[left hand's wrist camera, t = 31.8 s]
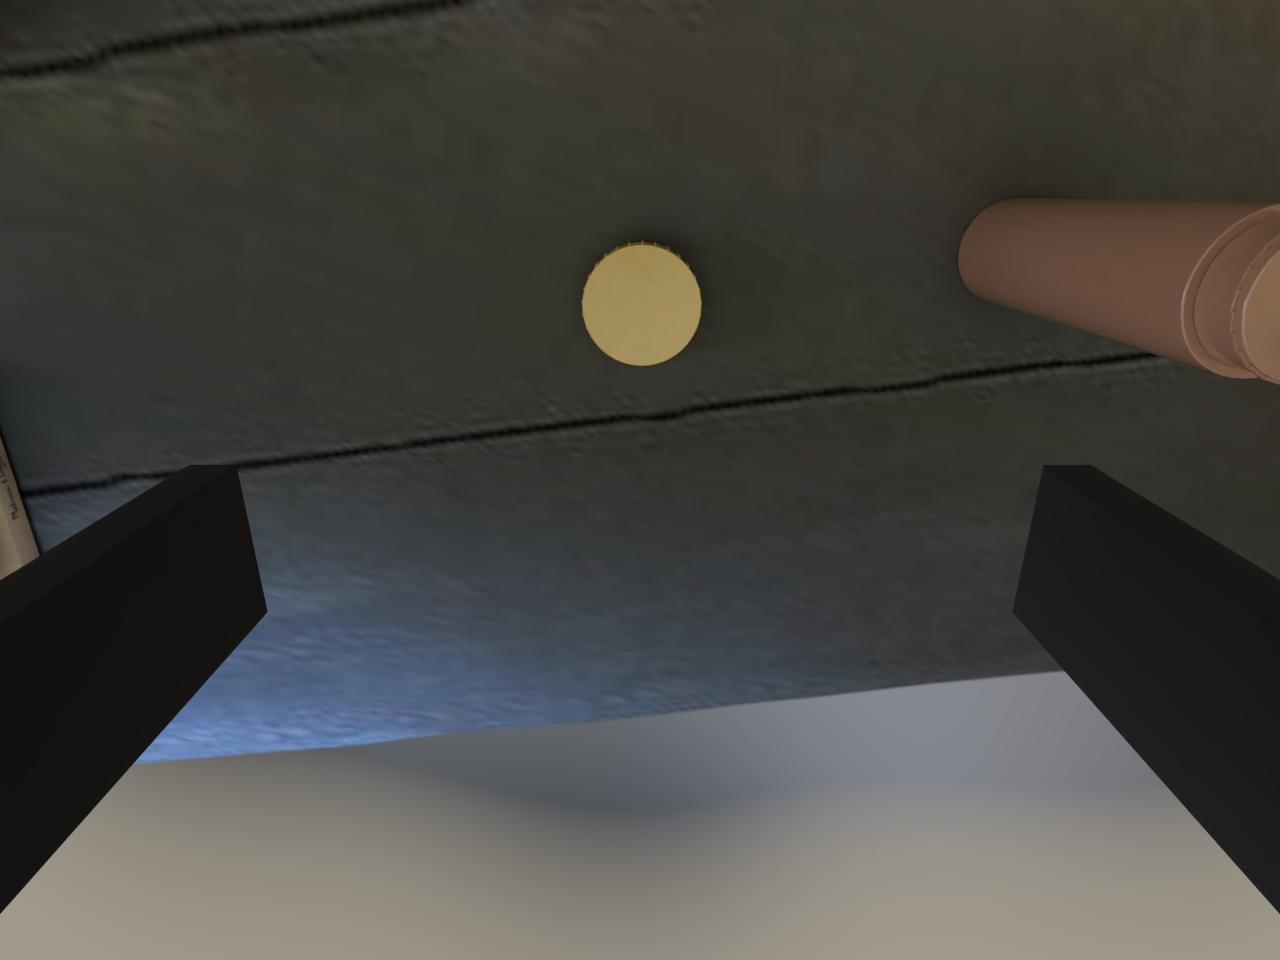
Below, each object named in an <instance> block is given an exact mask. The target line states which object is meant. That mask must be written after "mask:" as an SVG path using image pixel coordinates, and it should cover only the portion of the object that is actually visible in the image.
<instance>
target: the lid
mask: <svg viewBox="0 0 1280 960" xmlns="http://www.w3.org/2000/svg"><path fill="white" fill-rule="evenodd" d="M595 266H596V267H595V268H594V270H593V271H592V273H591V272H590V274H589V275H588V278H589V279H588V281H587V283H586V285H585V286H584V288H583V290H584V294H583V299H582V303H583V304H582V307H583V314H582V315H583V316H584V321H585V324H586V328H587V330H588V332H589V334H590V336H591V337H592V339H593V340H594V342H595V343H596V344H597V345H598V347H599V348H600V349H601V350H603V351H604V352H605V353H606V354H607V355H609V356H610V357H612V358H614V359H616V360H618V361H620V362H623V363H626V364H630V365H637V366H647V365H654V364H658V363H661V362H664V361H666V360H668V359H670V358H672V357H673V356H675V355H676V354H678V353H679V352H680V351H681V350H682V349H683V348H684V347H685V346H686V345H687V344H688V343H689V341H690V340H691V339H692V337H693V335H694V333H695V332H696V329H697V327H698V324H699V320H700V317H701V304H702V301H701V295H700V291H701V289H700V287H699V286H698V284H697V281H696V276H695V274H694V273H692V272H691V270H690V269H689V267H690V266H689V265H688V263H687V262H686V263H685V262H684V261H683V260H682V259H681V258H680V255H679V254H678V253H677V254H676V253H674V252H673V251H671V250H670V249H669V248H668V247H667V246H666V247H664V246H661V245H658V244H656V242H654V243H649V242H643V240H641V242H635V243H631V242H628V244H626V245H623V246H620V247H619V246H616V249H614V250H612V251H611V252H609V253H606V254H605V255H604V257H603V258H602V259H601V260H600V262H598V261H597V263H596V264H595Z"/></svg>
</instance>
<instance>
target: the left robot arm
mask: <svg viewBox="0 0 1280 960" xmlns="http://www.w3.org/2000/svg"><path fill="white" fill-rule="evenodd" d="M266 613H267V607H266V603H265V598H264V593H263V589H262V584H261V579H260V574H259V570H258V565H257V560H256V555H255V551H254V546H253V541H252V537H251V532H250V527H249V522H248V518H247V513H246V508H245V504H244V499H243V494H242V489H241V485H240V480H239V475H238V471H237V466H236V465H189V466H187V467H185V468H184V469H182V470H180V471H179V472H177V473H175V474H174V475H172V476H171V477H169V478H167V479H166V480H164V481H162V482H161V483H159V484H157V485H156V486H154V487H152V488H151V489H149V490H147V491H146V492H144V493H143V494H141V495H139V496H138V497H136V498H134V499H133V500H131V501H129V502H128V503H126V504H124V505H123V506H121V507H119V508H118V509H116V510H115V511H113V512H111V513H110V514H108V515H106V516H105V517H103V518H101V519H100V520H98V521H96V522H95V523H93V524H92V525H90V526H88V527H87V528H85V529H83V530H82V531H80V532H78V533H77V534H75V535H73V536H72V537H70V538H68V539H67V540H65V541H64V542H62V543H60V544H59V545H57V546H55V547H54V548H52V549H50V550H49V551H47V552H45V553H44V554H42V555H40V556H39V557H37V558H36V559H34V560H32V561H31V562H29V563H27V564H26V565H24V566H22V567H21V568H19V569H17V570H16V571H14V572H12V573H11V574H9V575H8V576H6V577H4V578H3V579H1V580H0V914H1V912H2V911H3V910H4V909H5V908H6V907H7V906H8V904H9V903H10V902H11V901H12V900H13V899H14V898H15V897H16V895H17V894H18V893H19V892H20V891H21V890H22V889H23V888H24V886H25V885H26V884H27V883H28V882H29V881H30V880H31V879H32V877H33V876H34V875H35V874H36V873H37V872H38V871H39V870H40V868H41V867H42V866H43V865H44V864H45V863H46V862H47V860H48V859H49V858H50V857H51V856H52V855H53V854H54V853H55V851H56V850H57V849H58V848H59V847H60V846H61V845H62V844H63V842H64V841H65V840H66V839H67V838H68V837H69V836H70V834H71V833H72V832H73V831H74V830H75V829H76V828H77V827H78V825H79V824H80V823H81V822H82V821H83V820H84V819H85V818H86V816H87V815H88V814H89V813H90V812H91V811H92V810H93V808H94V807H95V806H96V805H97V804H98V803H99V802H100V801H101V800H102V798H103V797H104V796H105V795H106V794H107V793H108V792H109V790H110V789H111V788H112V787H113V786H114V785H115V784H116V783H117V781H118V780H119V779H120V778H121V777H122V776H123V775H124V774H125V772H126V771H127V770H128V769H129V768H130V767H131V766H132V764H133V763H134V762H135V761H136V760H137V759H138V758H139V757H140V755H141V754H142V753H143V752H144V751H145V750H146V749H147V748H148V746H149V745H150V744H151V743H152V742H153V741H154V740H155V739H156V737H157V736H158V735H159V734H160V733H161V732H162V731H163V729H164V728H165V727H166V726H167V725H168V724H169V723H170V722H171V720H172V719H173V718H174V717H175V716H176V715H177V714H178V713H179V711H180V710H181V709H182V708H183V707H184V706H185V705H186V704H187V702H188V701H189V700H190V699H191V698H192V697H193V696H194V694H195V693H196V692H197V691H198V690H199V689H200V688H201V687H202V685H203V684H204V683H205V682H206V681H207V680H208V679H209V678H210V676H211V675H212V674H213V673H214V672H215V671H216V670H217V669H218V667H219V666H220V665H221V664H222V663H223V662H224V661H225V659H226V658H227V657H228V656H229V655H230V654H231V653H232V652H233V650H234V649H235V648H236V647H237V646H238V645H239V644H240V643H241V641H242V640H243V639H244V638H245V637H246V636H247V635H248V633H249V632H250V631H251V630H252V629H253V628H254V627H255V626H256V624H257V623H258V622H259V621H260V620H261V619H262V618H263V617H264V615H265V614H266ZM1013 613H1014V614H1015V615H1016V617H1017V618H1018V619H1019V620H1020V621H1021V622H1022V623H1023V624H1024V626H1025V627H1026V628H1027V629H1028V630H1029V631H1030V632H1031V633H1032V635H1033V636H1034V637H1035V638H1036V639H1037V640H1038V641H1039V643H1040V644H1041V645H1042V646H1043V647H1044V648H1045V649H1046V650H1047V652H1048V653H1049V654H1050V655H1051V656H1052V657H1053V658H1054V659H1055V661H1056V662H1057V663H1058V664H1059V665H1060V666H1061V667H1062V669H1063V670H1064V671H1065V672H1066V673H1067V674H1068V675H1069V676H1070V678H1071V679H1072V680H1073V681H1074V682H1075V683H1076V684H1077V685H1078V687H1079V688H1080V689H1081V690H1082V691H1083V692H1084V693H1085V694H1086V696H1087V697H1088V698H1089V699H1090V700H1091V701H1092V702H1093V704H1094V705H1095V706H1096V707H1097V708H1098V709H1099V710H1100V711H1101V713H1102V714H1103V715H1104V716H1105V717H1106V718H1107V719H1108V720H1109V722H1110V723H1111V724H1112V725H1113V726H1114V727H1115V728H1116V729H1117V731H1118V732H1119V733H1120V734H1121V735H1122V736H1123V737H1124V739H1125V740H1126V741H1127V742H1128V743H1129V744H1130V745H1131V746H1132V748H1133V749H1134V750H1135V751H1136V752H1137V753H1138V754H1139V755H1140V757H1141V758H1142V759H1143V760H1144V761H1145V762H1146V763H1147V764H1148V766H1149V767H1150V768H1151V769H1152V770H1153V771H1154V772H1155V774H1156V775H1157V776H1158V777H1159V778H1160V779H1161V780H1162V781H1163V783H1164V784H1165V785H1166V786H1167V787H1168V788H1169V789H1170V790H1171V792H1172V793H1173V794H1174V795H1175V796H1176V797H1177V798H1178V800H1179V801H1180V802H1181V803H1182V804H1183V805H1184V806H1185V807H1186V809H1187V810H1188V811H1189V812H1190V813H1191V814H1192V815H1193V816H1194V818H1195V819H1196V820H1197V821H1198V822H1199V823H1200V824H1201V825H1202V827H1203V828H1204V829H1205V830H1206V831H1207V832H1208V833H1209V835H1210V836H1211V837H1212V838H1213V839H1214V840H1215V841H1216V842H1217V844H1218V845H1219V846H1220V847H1221V848H1222V849H1223V850H1224V851H1225V853H1226V854H1227V855H1228V856H1229V857H1230V858H1231V859H1232V860H1233V862H1234V863H1235V864H1236V865H1237V866H1238V867H1239V868H1240V870H1241V871H1242V872H1243V873H1244V874H1245V875H1246V876H1247V877H1248V879H1249V880H1250V881H1251V882H1252V883H1253V884H1254V885H1255V886H1256V888H1257V889H1258V890H1259V891H1260V892H1261V893H1262V894H1263V896H1264V897H1265V898H1266V899H1267V900H1268V901H1269V902H1270V903H1271V905H1272V906H1273V907H1274V908H1275V909H1276V910H1277V911H1278V912H1279V914H1280V580H1279V579H1277V578H1276V577H1274V576H1272V575H1271V574H1269V573H1268V572H1266V571H1264V570H1263V569H1261V568H1259V567H1258V566H1256V565H1254V564H1253V563H1251V562H1249V561H1248V560H1246V559H1244V558H1243V557H1241V556H1240V555H1238V554H1236V553H1235V552H1233V551H1231V550H1230V549H1228V548H1226V547H1225V546H1223V545H1221V544H1220V543H1218V542H1216V541H1215V540H1213V539H1212V538H1210V537H1208V536H1207V535H1205V534H1203V533H1202V532H1200V531H1198V530H1197V529H1195V528H1193V527H1192V526H1190V525H1188V524H1187V523H1185V522H1184V521H1182V520H1180V519H1179V518H1177V517H1175V516H1174V515H1172V514H1170V513H1169V512H1167V511H1165V510H1164V509H1162V508H1161V507H1159V506H1157V505H1156V504H1154V503H1152V502H1151V501H1149V500H1147V499H1146V498H1144V497H1142V496H1141V495H1139V494H1137V493H1136V492H1134V491H1133V490H1131V489H1129V488H1128V487H1126V486H1124V485H1123V484H1121V483H1119V482H1118V481H1116V480H1114V479H1113V478H1111V477H1109V476H1108V475H1106V474H1105V473H1103V472H1101V471H1100V470H1098V469H1096V468H1095V467H1093V466H1091V465H1044V466H1043V471H1042V475H1041V480H1040V485H1039V489H1038V494H1037V499H1036V504H1035V508H1034V513H1033V518H1032V522H1031V527H1030V532H1029V537H1028V541H1027V546H1026V551H1025V555H1024V560H1023V565H1022V570H1021V574H1020V579H1019V584H1018V589H1017V593H1016V598H1015V603H1014V607H1013Z"/></svg>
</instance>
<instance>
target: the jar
mask: <svg viewBox="0 0 1280 960" xmlns="http://www.w3.org/2000/svg"><path fill="white" fill-rule="evenodd" d="M958 266H959V272H960V275H961V278H962V280H963V282H964V284H965V285H966V287H967V288H968V289H969V290H970V291H971V292H972V293H973V294H974V295H975V296H977V297H979V298H980V299H982V300H985V301H988V302H991V303H994V304H997V305H1000V306H1003V307H1007V308H1010V309H1013V310H1016V311H1019V312H1022V313H1026V314H1029V315H1032V316H1035V317H1038V318H1041V319H1045V320H1048V321H1051V322H1054V323H1057V324H1060V325H1063V326H1067V327H1070V328H1073V329H1076V330H1079V331H1082V332H1086V333H1089V334H1092V335H1095V336H1098V337H1101V338H1104V339H1108V340H1111V341H1114V342H1117V343H1120V344H1123V345H1127V346H1130V347H1133V348H1136V349H1139V350H1142V351H1146V352H1149V353H1152V354H1155V355H1158V356H1161V357H1164V358H1168V359H1171V360H1174V361H1177V362H1180V363H1183V364H1187V365H1190V366H1193V367H1196V368H1199V369H1202V370H1206V371H1209V372H1212V373H1215V374H1218V375H1221V376H1226V377H1230V378H1240V379H1244V378H1256V377H1259V378H1260V379H1263V380H1266V381H1269V382H1273V383H1276V384H1279V385H1280V202H1268V201H1206V200H1144V199H1083V198H1021V197H1019V198H1009V199H1005V200H1002V201H999V202H997V203H994V204H992V205H991V206H989V207H987V208H986V209H985V210H983V211H982V212H981V213H980V214H979V215H978V216H977V217H976V218H975V219H974V220H973V221H972V222H971V224H970V225H969V227H968V228H967V230H966V232H965V234H964V236H963V238H962V241H961V244H960V248H959V254H958Z"/></svg>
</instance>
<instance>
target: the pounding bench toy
mask: <svg viewBox="0 0 1280 960" xmlns="http://www.w3.org/2000/svg"><path fill="white" fill-rule="evenodd" d="M39 556H40V555H39V552H38V549H37V546H36V543H35V540H34V537H33V534H32V531H31V528H30V525H29V522H28V519H27V516H26V513H25V510H24V507H23V504H22V501H21V497H20V494H19V491H18V488H17V485H16V482H15V479H14V476H13V473H12V470H11V467H10V464H9V461H8V458H7V455H6V452H5V449H4V446H3V443H2V440H1V437H0V580H1V579H3V578H4V577H6V576H8V575H9V574H11V573H12V572H14V571H16V570H17V569H19V568H21V567H22V566H24V565H26V564H27V563H29V562H31V561H32V560H34V559H36V558H37V557H39Z"/></svg>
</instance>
